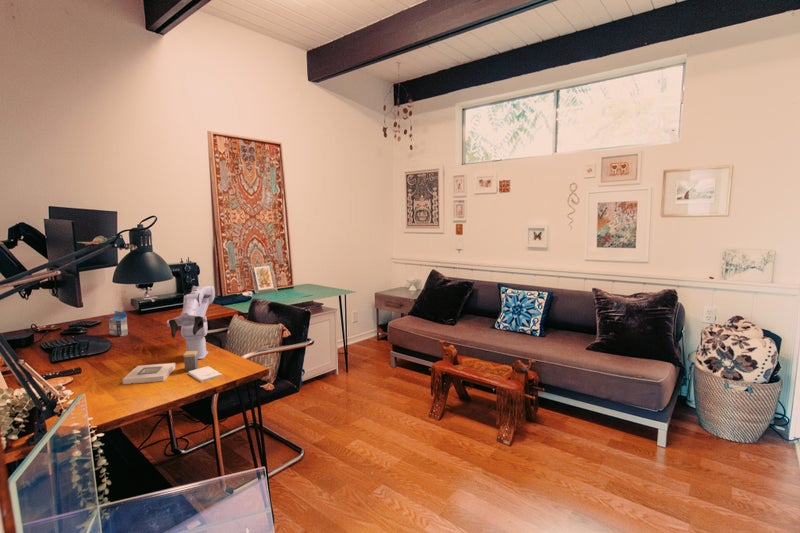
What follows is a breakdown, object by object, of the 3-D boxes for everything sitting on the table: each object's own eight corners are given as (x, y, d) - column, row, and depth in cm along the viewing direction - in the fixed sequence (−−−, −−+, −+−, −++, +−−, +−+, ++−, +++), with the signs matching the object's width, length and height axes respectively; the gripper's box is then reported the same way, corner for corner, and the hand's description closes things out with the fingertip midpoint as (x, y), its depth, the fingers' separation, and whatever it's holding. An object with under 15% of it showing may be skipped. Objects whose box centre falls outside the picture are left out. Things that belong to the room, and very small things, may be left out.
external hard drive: (208, 369, 169) (222, 377, 160) (188, 375, 162) (201, 383, 154) (208, 365, 168) (222, 373, 160) (187, 371, 162) (201, 379, 154)
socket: (138, 370, 166) (137, 365, 166) (175, 367, 169) (175, 362, 169) (122, 384, 152) (122, 378, 152) (163, 380, 155) (163, 375, 155)
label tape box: (109, 335, 214) (107, 312, 213) (116, 333, 218) (114, 310, 216) (121, 336, 211) (119, 313, 210) (128, 334, 215) (126, 312, 214)
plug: (187, 367, 169) (186, 351, 168) (198, 366, 170) (197, 350, 169) (184, 371, 165) (183, 354, 164) (195, 370, 166) (194, 354, 165)
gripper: (168, 307, 168) (160, 328, 157) (205, 303, 171) (201, 324, 160) (172, 320, 171) (165, 342, 160) (209, 316, 175) (204, 337, 164)
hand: (183, 334), depth 160 cm, fingers open, 7 cm apart
